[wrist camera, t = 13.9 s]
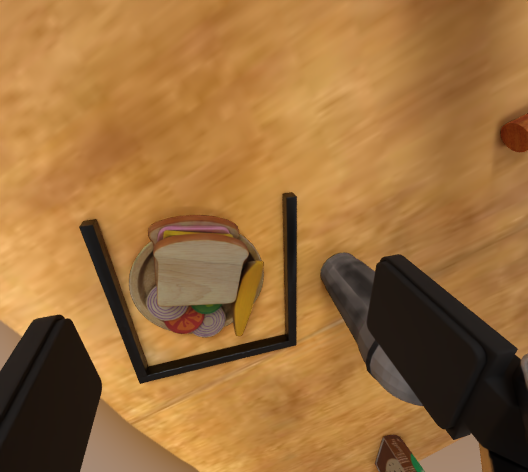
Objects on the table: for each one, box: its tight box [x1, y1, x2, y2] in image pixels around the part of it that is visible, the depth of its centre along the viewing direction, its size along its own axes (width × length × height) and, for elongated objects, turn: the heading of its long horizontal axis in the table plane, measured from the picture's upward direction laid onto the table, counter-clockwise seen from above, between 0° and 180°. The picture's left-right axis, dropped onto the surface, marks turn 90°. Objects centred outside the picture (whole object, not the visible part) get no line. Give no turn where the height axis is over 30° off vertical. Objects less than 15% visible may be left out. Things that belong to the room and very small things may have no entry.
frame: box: [79, 193, 297, 384], centre depth 29 cm, size 19×18×1 cm
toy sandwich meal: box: [129, 215, 264, 337], centre depth 26 cm, size 12×14×5 cm
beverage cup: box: [321, 253, 423, 406], centre depth 24 cm, size 7×7×20 cm
